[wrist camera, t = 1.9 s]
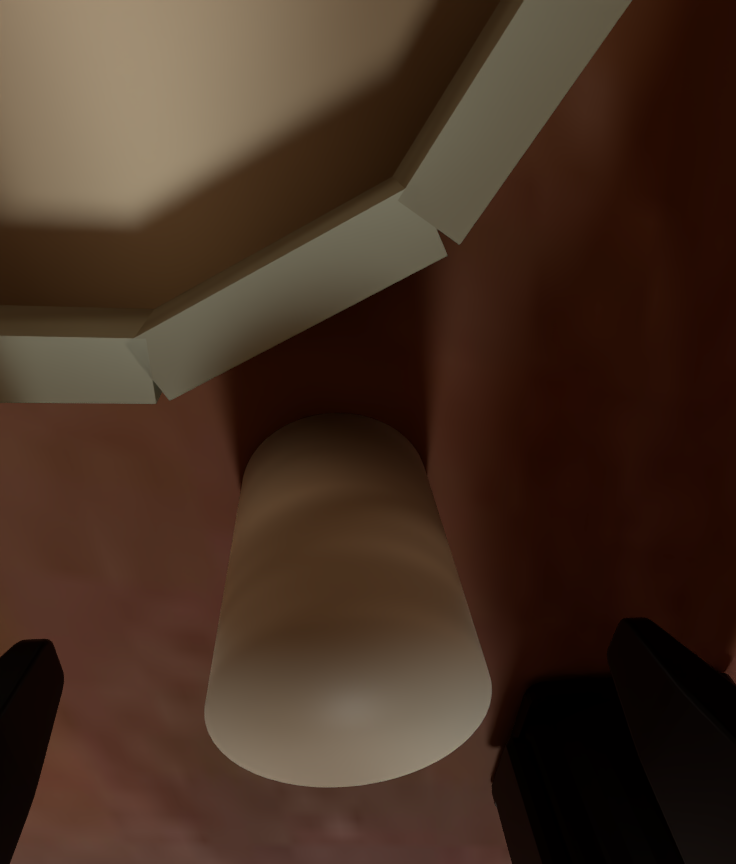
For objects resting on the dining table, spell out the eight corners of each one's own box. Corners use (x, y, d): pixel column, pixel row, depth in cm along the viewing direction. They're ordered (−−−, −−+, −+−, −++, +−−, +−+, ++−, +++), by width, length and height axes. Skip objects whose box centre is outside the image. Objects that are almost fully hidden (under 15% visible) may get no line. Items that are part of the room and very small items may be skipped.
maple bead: (437, 413, 11) (517, 609, 7) (416, 558, 13) (468, 778, 9) (235, 411, 11) (189, 621, 6) (246, 562, 13) (216, 795, 9)
